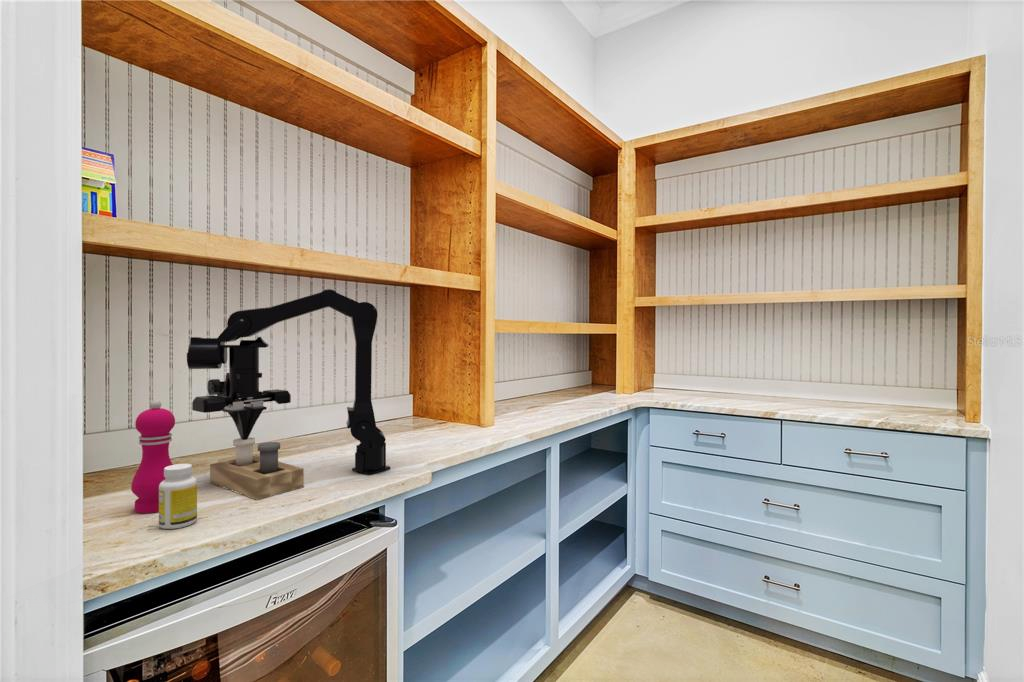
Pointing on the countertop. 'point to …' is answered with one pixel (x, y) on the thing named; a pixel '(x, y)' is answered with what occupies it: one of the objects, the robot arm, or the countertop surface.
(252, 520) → the countertop surface
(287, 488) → the oak socket block
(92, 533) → the countertop surface
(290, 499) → the countertop surface
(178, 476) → the supplement bottle
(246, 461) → the white plug
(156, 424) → the pepper mill
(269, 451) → the charcoal plug
